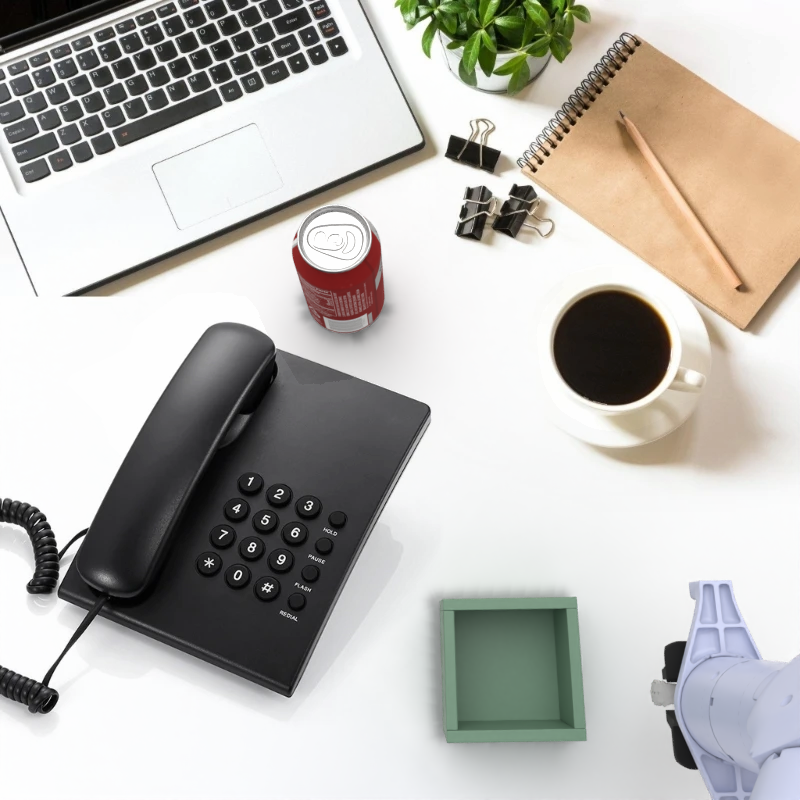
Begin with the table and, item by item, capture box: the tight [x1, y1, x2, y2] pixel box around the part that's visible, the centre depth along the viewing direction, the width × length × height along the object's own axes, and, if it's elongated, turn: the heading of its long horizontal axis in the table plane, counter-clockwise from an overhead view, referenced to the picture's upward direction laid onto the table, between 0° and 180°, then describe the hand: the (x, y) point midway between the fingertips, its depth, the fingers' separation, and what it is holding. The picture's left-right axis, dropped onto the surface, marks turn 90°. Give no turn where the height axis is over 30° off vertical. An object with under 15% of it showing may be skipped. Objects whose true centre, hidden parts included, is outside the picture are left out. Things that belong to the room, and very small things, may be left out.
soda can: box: [291, 203, 386, 335], centre depth 65 cm, size 7×7×12 cm
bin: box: [439, 596, 588, 744], centre depth 59 cm, size 10×10×6 cm
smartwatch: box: [649, 679, 677, 708], centre depth 55 cm, size 4×2×4 cm, turn 87°
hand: (678, 694), depth 56 cm, fingers closed on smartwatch, 2 cm apart
